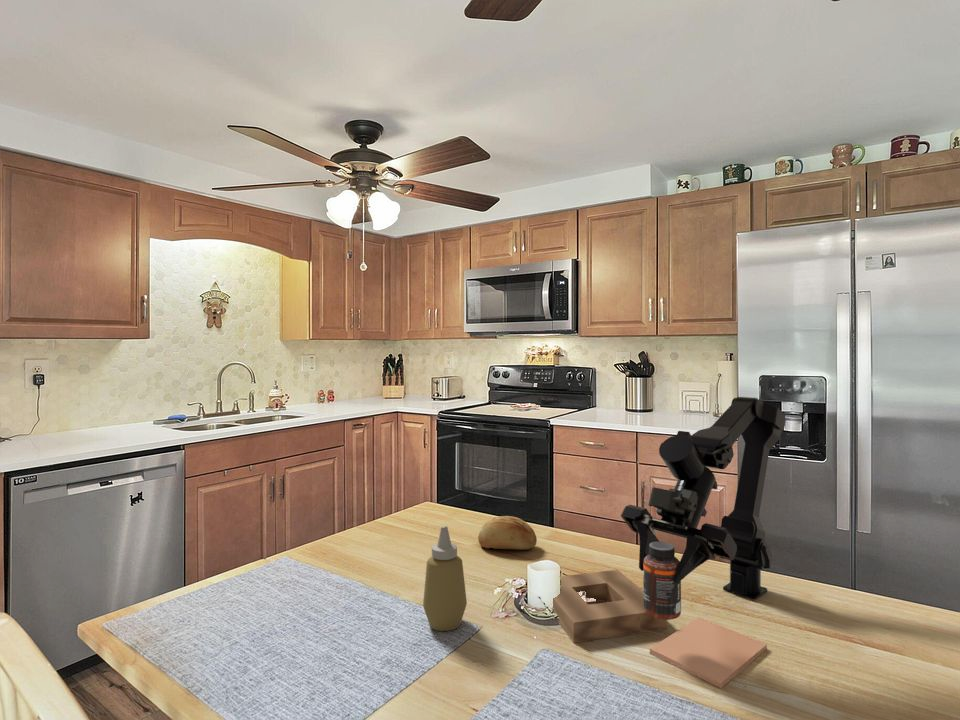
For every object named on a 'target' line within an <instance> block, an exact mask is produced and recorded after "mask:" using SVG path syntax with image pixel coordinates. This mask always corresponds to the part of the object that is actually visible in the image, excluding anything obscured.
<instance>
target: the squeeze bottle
mask: <svg viewBox="0 0 960 720" xmlns="http://www.w3.org/2000/svg"><path fill="white" fill-rule="evenodd" d="M464 574H465V573H464V565H463V559H462V558H461V557H460V556H459V555H458V546H457V544H455V543H453V542H452V541H451V537H450V532H449V527H448V526H447V525H444V526H443V525H442V526H441V527H440V531H439V537H438V541H437V543H435V544H433V545H432V547H431V556H430V557H429V558H428V559H427V560H426V567H425V577H424V578H425V579H424V591H423V600H422V606H423V610H424V612H425V615H426V618H427V621H428V624H429V627H430V628H431V629H433V630H436V631H441V632H448V631H453V630H455V629H457V628H459V627H460V626H461V623H462V620H463V617H464V615H465V610H466V607H467V604H468V603H467V602H468V601H467V600H468V599H467V592H466V583H465V575H464Z"/></svg>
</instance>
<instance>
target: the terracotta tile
mask: <svg viewBox="0 0 960 720" xmlns="http://www.w3.org/2000/svg"><path fill="white" fill-rule="evenodd" d="M767 649H768V644H767V643H765V642H762V641H760V640H757V639H756V638H752V637H749V636H747V635H745V634H743V633H740V632H737V631H735V630H732V629H730V628H728V627H725V626H722V625H720V624H717V623H715V622H712V621H709V620H708V619H705V618H702V617H700V616H699V617H696V618H694V620H692V621H691V622H689V623H687V624H686V625H684V626H682V627H681V628H680V629H678V630H676V631H675V632H673V633H672V634H670V635H669V636H667V637H666V638H664V639H662V640H661V641H660V642H658V643H656V644H655V645H653V646H651V647H650V648H649V654H650V655H652V656H655V657H656V658H658V659H660V660H662V661H664V662H666V663H667V664H671V665H673V666H674V667H677V668H678V669H681V670H683V671H686V672H687V673H689V674H692V675H693V676H695V677H697V678H699V679H701V680H703V681H705V682H708V683H709V684H711V685H713V686H716V687H717V688H720V689H722V688H723V687H724V686H726V685H727V684H728V683H729V682H730V681H731V680H733V678H735V677H736V676H737V675H739V674H740V672H742V671H743V670H744V669H745V668H747V667H748V666H749V665H750V664H751V663H752V662H753V661H755V660H756V659H757V658H758V657H759V656H761V655H762V654H763V653H764V652H765V651H767Z"/></svg>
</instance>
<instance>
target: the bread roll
mask: <svg viewBox="0 0 960 720" xmlns="http://www.w3.org/2000/svg"><path fill="white" fill-rule="evenodd" d="M477 540H478V544H479V545H480V547H482V548H484V547H485V548H484V549H489V548H493V549H496V550H530V549H533V548H534V547H535V546H536V545H537V535H536V533H535V530H534V529H533V528H532V527H531V526H530V525H529V523H528V522H526V521H525V520H524V519H522V518H519V517H516V516H511V515H500V516H496V517H494V518H492V519H489V520H488V521H486V522H485V523H484V525H483V526H482V527H481V529H480V530H479V533H478V535H477ZM493 549H492V550H493Z"/></svg>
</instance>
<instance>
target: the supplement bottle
mask: <svg viewBox="0 0 960 720" xmlns="http://www.w3.org/2000/svg"><path fill="white" fill-rule="evenodd" d="M675 554H676V552H675V546H674V544H672V543H671V542H670V543H669V542H666V541H660V542H652V543H650V544H649V554H648V555H647V556H646V557H645V558H644V562H643V571H642V572H643V573H642V574H643V575H642V576H643V579H642V580H643V582H642V583H643V591H644V610H645V611H646V613H647V614H649V615H650V616H652V617H654V618H657V619H661V620H666V621H670V620H675V619H677V618H679V617H680V616H681V613H682V580H681V581H680V582H679V583H676V582H675V581H674V576H675V573H676V570H677V567H678V565H679V563H680V560H679V559H678V558H677V557H676V556H675Z"/></svg>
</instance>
